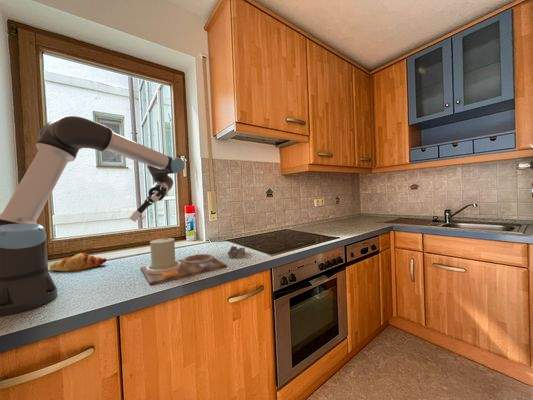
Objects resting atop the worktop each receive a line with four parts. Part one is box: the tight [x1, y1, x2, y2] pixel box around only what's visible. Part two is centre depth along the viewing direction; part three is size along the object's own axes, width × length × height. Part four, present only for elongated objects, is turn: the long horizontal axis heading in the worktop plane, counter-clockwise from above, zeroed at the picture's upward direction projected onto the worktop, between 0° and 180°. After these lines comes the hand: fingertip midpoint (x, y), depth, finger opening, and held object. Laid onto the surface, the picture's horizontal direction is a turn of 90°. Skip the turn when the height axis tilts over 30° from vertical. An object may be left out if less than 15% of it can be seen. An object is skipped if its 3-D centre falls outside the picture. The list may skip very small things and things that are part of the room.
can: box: [149, 237, 176, 270], centre depth 94 cm, size 9×9×12 cm
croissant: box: [48, 252, 107, 272], centre depth 102 cm, size 21×10×8 cm, turn 107°
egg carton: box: [226, 245, 246, 259], centre depth 114 cm, size 11×8×4 cm
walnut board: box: [140, 253, 227, 286], centre depth 97 cm, size 29×21×2 cm
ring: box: [146, 259, 181, 278], centre depth 92 cm, size 13×18×2 cm
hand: (143, 209), depth 99 cm, fingers open, 13 cm apart
